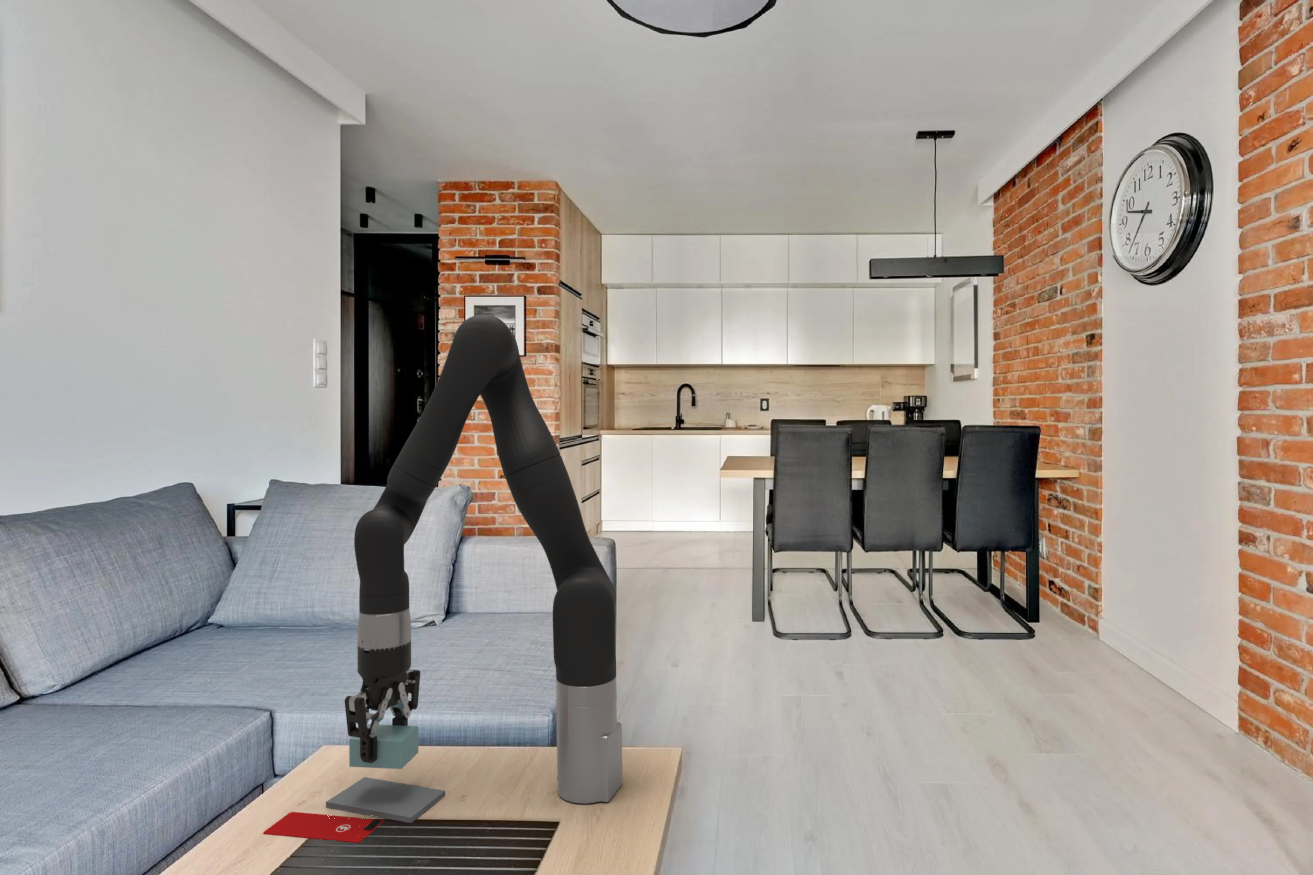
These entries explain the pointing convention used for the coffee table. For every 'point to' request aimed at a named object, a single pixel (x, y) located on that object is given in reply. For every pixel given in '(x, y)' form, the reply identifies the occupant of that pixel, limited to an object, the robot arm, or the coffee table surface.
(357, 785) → the mat
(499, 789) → the coffee table surface
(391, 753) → the teal rectangular block
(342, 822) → the electronic device
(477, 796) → the coffee table surface
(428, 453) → the robot arm
